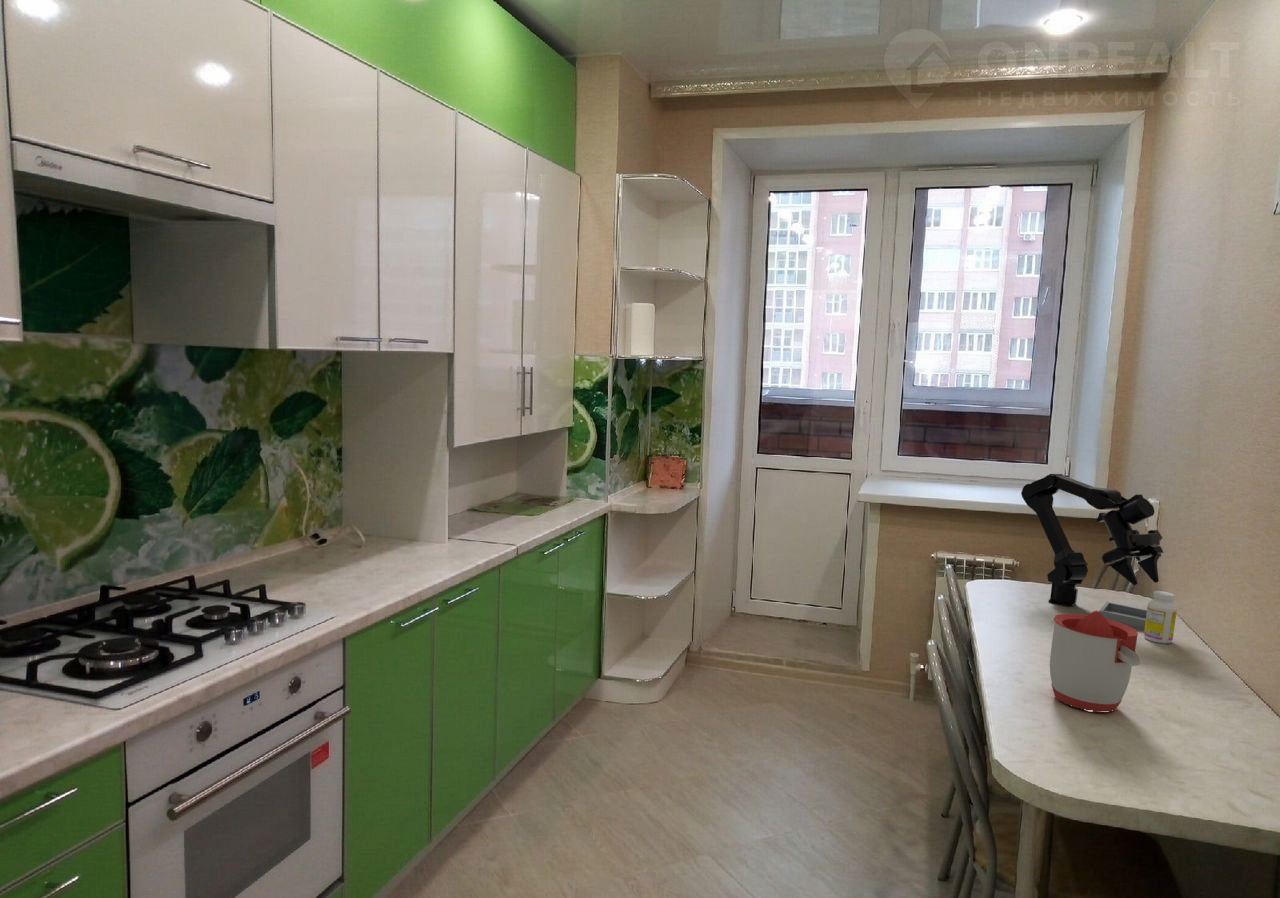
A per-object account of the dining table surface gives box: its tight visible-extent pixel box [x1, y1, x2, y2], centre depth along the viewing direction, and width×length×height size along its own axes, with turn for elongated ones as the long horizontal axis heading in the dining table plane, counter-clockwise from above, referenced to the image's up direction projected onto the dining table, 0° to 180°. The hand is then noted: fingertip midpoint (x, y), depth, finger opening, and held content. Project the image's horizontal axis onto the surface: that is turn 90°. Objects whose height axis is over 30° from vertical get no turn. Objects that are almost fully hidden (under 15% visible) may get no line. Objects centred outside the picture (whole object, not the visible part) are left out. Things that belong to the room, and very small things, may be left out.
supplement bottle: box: [1143, 590, 1178, 645], centre depth 227 cm, size 7×7×13 cm
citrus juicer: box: [1049, 610, 1141, 712], centre depth 178 cm, size 16×17×20 cm
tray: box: [1098, 601, 1147, 632], centre depth 243 cm, size 13×13×3 cm
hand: (1146, 583), depth 235 cm, fingers open, 9 cm apart
